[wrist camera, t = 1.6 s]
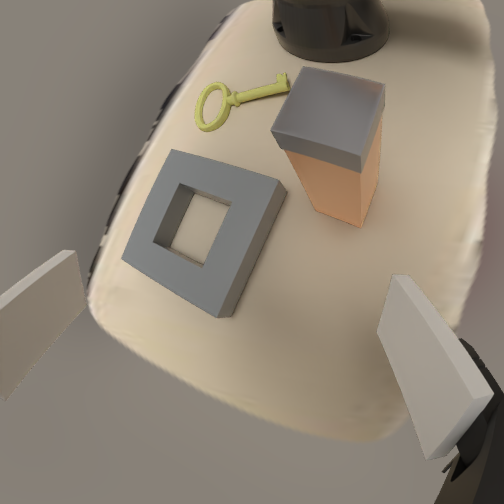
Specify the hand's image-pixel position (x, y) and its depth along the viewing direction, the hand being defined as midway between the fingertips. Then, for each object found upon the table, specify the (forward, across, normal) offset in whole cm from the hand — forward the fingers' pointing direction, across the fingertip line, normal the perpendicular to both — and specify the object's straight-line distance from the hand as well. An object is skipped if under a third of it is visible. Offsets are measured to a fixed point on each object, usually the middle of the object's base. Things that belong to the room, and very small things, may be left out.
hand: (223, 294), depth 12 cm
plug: (+17, +9, +1) cm, 19 cm away
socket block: (+19, -5, -4) cm, 20 cm away
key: (+27, -3, +10) cm, 29 cm away
